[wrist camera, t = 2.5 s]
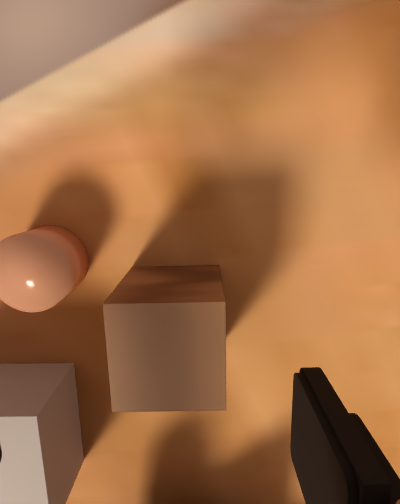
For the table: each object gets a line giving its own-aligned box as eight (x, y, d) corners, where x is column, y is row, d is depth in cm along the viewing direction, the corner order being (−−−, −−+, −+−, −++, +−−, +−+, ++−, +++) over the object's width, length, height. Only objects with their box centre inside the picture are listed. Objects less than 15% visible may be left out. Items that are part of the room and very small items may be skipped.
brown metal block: (218, 265, 20) (225, 302, 14) (219, 344, 21) (226, 410, 15) (132, 266, 20) (102, 304, 14) (137, 346, 21) (112, 412, 15)
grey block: (75, 361, 21) (36, 416, 16) (84, 457, 23) (52, 533, 18) (-38, 362, 21) (-109, 417, 16) (-20, 457, 23) (-81, 534, 18)
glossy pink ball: (85, 224, 19) (64, 233, 16) (91, 292, 20) (72, 311, 17) (14, 226, 19) (-19, 234, 16) (24, 293, 20) (-7, 313, 17)
